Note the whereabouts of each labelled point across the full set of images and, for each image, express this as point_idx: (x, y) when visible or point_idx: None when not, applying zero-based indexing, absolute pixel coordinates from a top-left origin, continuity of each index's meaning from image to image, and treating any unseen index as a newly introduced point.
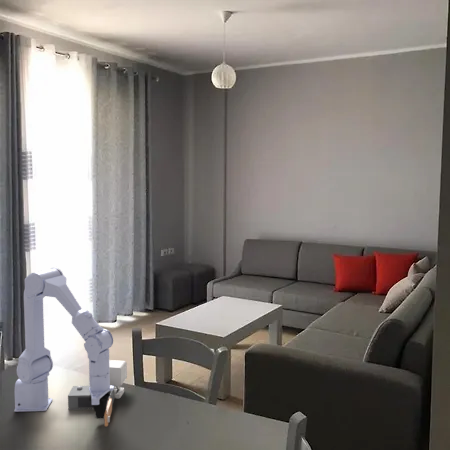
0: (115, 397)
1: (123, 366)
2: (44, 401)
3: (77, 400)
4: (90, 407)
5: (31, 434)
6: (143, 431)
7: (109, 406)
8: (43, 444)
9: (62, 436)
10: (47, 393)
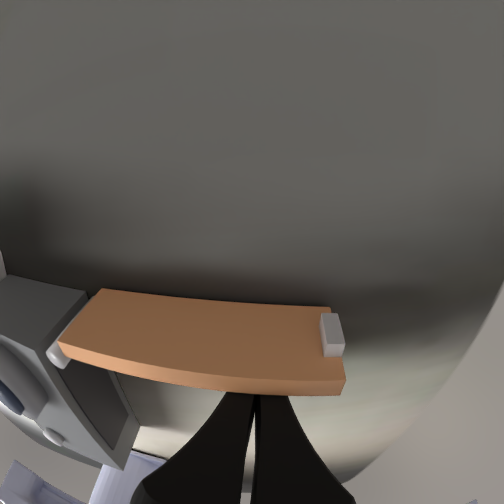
0: (2, 271)
1: None
2: (142, 473)
3: (117, 439)
4: (111, 380)
5: None
6: (435, 53)
7: (191, 370)
8: (380, 450)
9: (353, 434)
10: (121, 481)
